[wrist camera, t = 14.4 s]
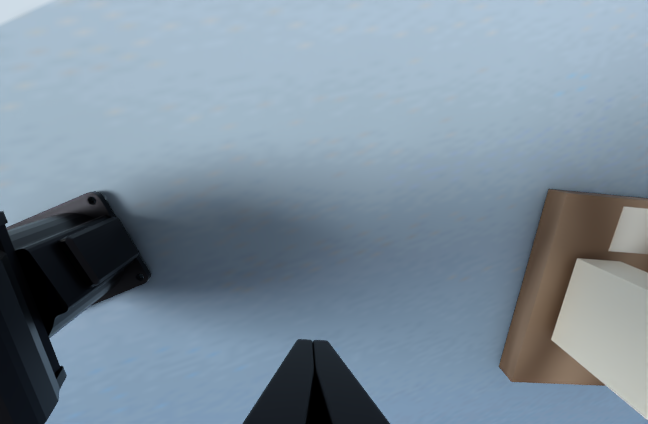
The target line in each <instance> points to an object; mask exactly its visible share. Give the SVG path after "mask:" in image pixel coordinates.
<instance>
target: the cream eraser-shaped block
mask: <svg viewBox="0 0 648 424" xmlns="http://www.w3.org/2000/svg"><path fill="white" fill-rule="evenodd" d="M551 340H552V341H553V342H554V343H556V344H557V345H558V346H559V347H560V348H562V349H563V350H564V351H565V352H566V353H568V354H569V355H570V356H571V357H572V358H574V359H575V360H576V361H577V362H578V363H580V364H581V365H582V366H583V367H584V368H586V369H587V370H588V371H589V372H590V373H592V374H593V375H594V376H595V377H596V378H598V379H599V380H600V381H601V382H602V383H604V384H605V385H606V386H607V387H608V388H609V389H611V390H612V391H613V392H614V393H615V394H617V395H618V396H619V397H620V398H621V399H623V400H624V401H625V402H626V403H627V404H629V405H630V406H631V407H632V408H633V409H635V410H636V411H637V412H638V413H639V414H641V415H642V416H643V417H644V418H645V419H647V420H648V273H647V272H645V271H643V270H640V269H638V268H635V267H633V266H630V265H628V264H625V263H623V262H620V261H608V260H595V259H582V258H577V260H576V263H575V266H574V269H573V273H572V276H571V279H570V282H569V285H568V288H567V291H566V294H565V298H564V301H563V304H562V307H561V310H560V313H559V316H558V319H557V323H556V326H555V329H554V332H553V335H552V338H551Z"/></svg>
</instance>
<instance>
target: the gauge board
mask: <svg viewBox="0 0 648 424" xmlns="http://www.w3.org/2000/svg"><path fill="white" fill-rule="evenodd" d="M577 258H582V259H595V260H608V261H620V262H623V263H625V264H628V265H630V266H633V267H635V268H638V269H640V270H643V271H645V272H647V273H648V198H637V197H627V196H617V195H606V194H596V193H585V192H575V191H564V190H554V189H549V190H548V193H547V197H546V200H545V204H544V207H543V211H542V215H541V218H540V222H539V225H538V229H537V232H536V236H535V240H534V243H533V247H532V250H531V254H530V257H529V261H528V265H527V268H526V272H525V275H524V279H523V282H522V286H521V290H520V293H519V297H518V300H517V304H516V307H515V311H514V314H513V318H512V322H511V325H510V329H509V332H508V336H507V339H506V343H505V347H504V350H503V354H502V357H501V361H500V364H499V367H500V369H501V370H502V371H503V372H504V373H505V375H506V376H507V377H508V378H509V379H510V381H511V382H529V383H553V384H578V385H602V386H606V385H605V384H604V383H602V382H601V381H600V380H599V379H598V378H596V377H595V376H594V375H593V374H592V373H590V372H589V371H588V370H587V369H586V368H584V367H583V366H582V365H581V364H580V363H578V362H577V361H576V360H575V359H574V358H572V357H571V356H570V355H569V354H568V353H566V352H565V351H564V350H563V349H562V348H560V347H559V346H558V345H557V344H556V343H554V342H553V341H552V340H551V338H552V335H553V332H554V329H555V326H556V323H557V319H558V316H559V313H560V310H561V307H562V304H563V301H564V298H565V294H566V291H567V288H568V285H569V282H570V279H571V276H572V273H573V269H574V266H575V263H576V260H577Z"/></svg>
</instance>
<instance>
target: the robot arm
mask: <svg viewBox="0 0 648 424" xmlns="http://www.w3.org/2000/svg"><path fill="white" fill-rule="evenodd" d="M92 197H94V198H95V199H96V203H94V202H93V201H92ZM6 223H8V222H7V220H6V217H5V214H4V212H3V211H0V424H44V423H45V422H46V421H47V419H48V418H49V416H50V414H51V413H52V411H53V409H54V407H55V406H56V404H57V402H58V399H59V390H60V388H61V386H62V384H63V382H64V380H65V378H66V376H67V375H66V373H65V370H64V368H63V366H60V365H59V363H58V360H57V357H56V355H55V352H54V350H53V347H52V345H51V342H50V339H49V338H50V337H52V336H53V335H54V334H55V333H57V332H58V331H59V330H61V329H62V328H63V327H64V326H66V325H67V324H68V323H69V322H71V321H72V320H73V319H74V318H76V317H77V316H78V315H79V314H81V313H82V312H83V311H84V310H86V309H87V308H88V307H89V306H91V305H93V304H96V303H98V302H101V301H103V300H105V299H108V298H110V297H113V296H115V295H118V294H120V293H122V292H125V291H127V290H130V289H132V288H135V287H137V286H139V285H142V284H144V283H146V282H147V281H148V280H149V279H150V277H151V274H150V271H149V270H148V268H147V266H146V265H145V263H144V261H143V260H142V258H141V257H140V255H139V253H138V250H137V248H136V246H135V245H134V243H133V242H132V240H131V238H130V237H129V235H128V233H127V232H126V230H125V228H124V227H123V225H122V224H121V222H120V220H119V219H117V218H116V216H115V214H114V213H113V211H112V209H111V208H110V206H109V205H108V203H107V201H106V200H105V198H104V196H103V195H102V194H101V193H99V192H96V191H94V192H89V193H86V194H84V195H82V196H79V197H77V198H75V199H72V200H70V201H68V202H65V203H63V204H61V205H58V206H56V207H54V208H51V209H49V210H47V211H44V212H42V213H39V214H37V215H35V216H32V217H30V218H28V219H25V220H23V221H21V222H18V223H16V224H14V225H11V226H9V227H7V228H6V226H5V224H6ZM139 274H142V275H143V276H144V278H141V277H140V276H139ZM243 424H390V423H389V422H388V420H387V419H386V418H385V416H384V415H383V414H382V412H381V411H380V410H379V408H378V407H377V406H376V404H375V403H374V402H373V400H372V399H371V398H370V396H369V395H368V394H367V392H366V391H365V390H364V388H363V387H362V386H361V384H360V383H359V382H358V380H357V379H356V378H355V377H354V375H353V374H352V373H351V371H350V370H349V369H348V367H347V366H346V365H345V363H344V362H343V361H342V359H341V358H340V357H339V355H338V354H337V353H336V351H335V350H334V349H333V347H332V346H331V345H330V343H329V342H328V341H325V340H314V341H313V343H312V341H311V340H306V339H298V340H297V341H296V342H295V344H294V346H293V347H292V349H291V350H290V352H289V353H288V355H287V356H286V358H285V359H284V361H283V362H282V364H281V365H280V367H279V369H278V370H277V372H276V373H275V375H274V376H273V378H272V379H271V381H270V382H269V384H268V385H267V387H266V388H265V390H264V392H263V393H262V395H261V396H260V398H259V399H258V401H257V402H256V404H255V405H254V407H253V408H252V410H251V411H250V413H249V415H248V416H247V418H246V419H245V421H244V422H243Z"/></svg>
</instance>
